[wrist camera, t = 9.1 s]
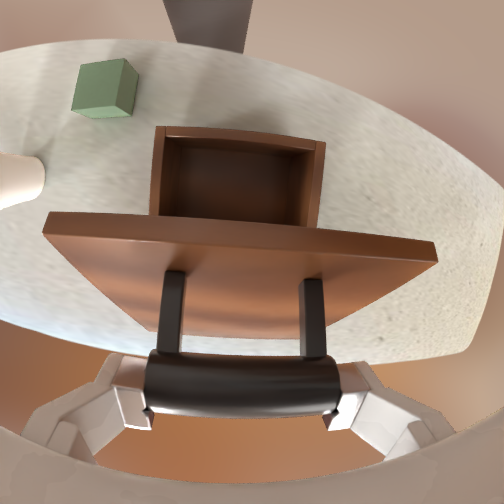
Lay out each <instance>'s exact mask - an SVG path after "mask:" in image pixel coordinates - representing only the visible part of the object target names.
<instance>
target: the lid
mask: <svg viewBox="0 0 504 504" xmlns="http://www.w3.org/2000/svg"><path fill="white" fill-rule="evenodd" d="M42 234H43V236H44V237H45V238H46V239H47V240H48V241H49V242H50V243H51V244H52V245H53V246H54V247H55V248H56V249H57V250H58V251H59V252H60V253H61V254H62V255H63V256H64V257H65V258H66V259H67V260H68V261H69V262H70V263H71V264H72V265H73V266H74V267H75V268H76V269H77V270H78V271H79V272H80V273H81V274H82V275H83V276H84V277H85V278H86V279H87V280H89V281H90V282H91V283H92V284H93V285H94V286H95V287H96V288H97V289H98V290H100V291H101V292H102V293H103V294H104V295H105V296H106V297H108V298H109V299H110V300H111V301H112V302H113V303H115V304H116V305H117V306H118V307H119V308H121V309H122V310H123V311H124V312H125V313H127V314H128V315H129V316H130V317H132V318H133V319H134V320H135V321H137V322H138V323H139V324H140V325H142V326H143V327H144V328H145V329H147V330H148V331H152V332H158V334H157V347H156V349H153V350H152V351H151V352H150V354H149V356H148V360H147V364H146V369H145V379H144V383H145V396H146V403H147V408H148V410H149V411H151V412H156V413H163V414H172V415H181V416H192V417H208V418H230V419H261V418H262V419H265V418H288V417H302V416H314V415H323V414H330V413H331V412H333V411H334V410H335V408H336V406H337V403H338V400H339V395H340V375H339V370H338V366H337V364H336V362H335V360H334V359H333V358H332V357H331V356H329V355H327V348H326V327H327V326H329V325H331V324H333V323H335V322H337V321H339V320H341V319H343V318H344V317H346V316H348V315H350V314H352V313H354V312H356V311H358V310H360V309H361V308H363V307H365V306H367V305H369V304H371V303H372V302H374V301H376V300H378V299H379V298H381V297H383V296H385V295H386V294H388V293H390V292H392V291H393V290H395V289H397V288H398V287H400V286H402V285H403V284H405V283H407V282H408V281H410V280H411V279H413V278H415V277H416V276H418V275H419V274H421V273H423V272H424V271H426V270H427V269H429V268H430V267H432V266H433V265H435V264H437V263H438V257H437V253H436V249H435V245H434V243H433V242H430V241H423V240H415V239H407V238H399V237H391V236H383V235H375V234H366V233H358V232H349V231H339V230H330V229H320V228H310V227H300V226H289V225H279V224H267V223H255V222H243V221H230V220H217V219H203V218H188V217H172V216H154V215H135V214H113V213H87V212H49V214H48V217H47V219H46V222H45V225H44V228H43V231H42ZM182 335H193V336H207V337H224V338H246V339H300V356H242V355H219V354H203V353H190V352H181V349H182Z"/></svg>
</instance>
